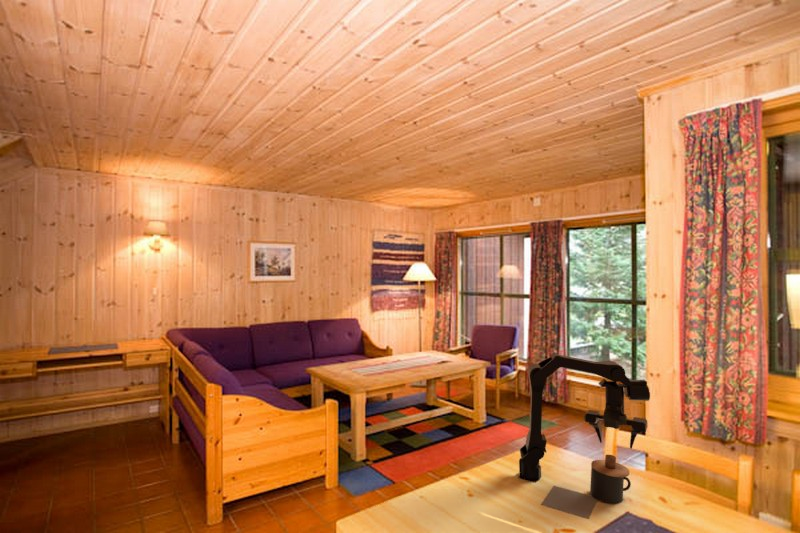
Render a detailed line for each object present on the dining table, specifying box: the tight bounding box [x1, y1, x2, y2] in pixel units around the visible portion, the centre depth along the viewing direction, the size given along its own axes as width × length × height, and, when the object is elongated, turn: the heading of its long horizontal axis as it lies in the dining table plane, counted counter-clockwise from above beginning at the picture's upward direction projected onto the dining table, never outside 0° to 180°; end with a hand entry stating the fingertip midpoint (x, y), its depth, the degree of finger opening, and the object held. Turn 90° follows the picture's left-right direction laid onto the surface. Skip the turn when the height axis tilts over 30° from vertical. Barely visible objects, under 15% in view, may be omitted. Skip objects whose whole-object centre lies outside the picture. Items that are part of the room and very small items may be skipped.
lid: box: [590, 454, 630, 478], centre depth 140 cm, size 11×11×4 cm
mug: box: [589, 465, 632, 505], centre depth 140 cm, size 9×12×9 cm
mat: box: [540, 485, 598, 520], centre depth 137 cm, size 14×14×1 cm
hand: (615, 445), depth 149 cm, fingers open, 9 cm apart
